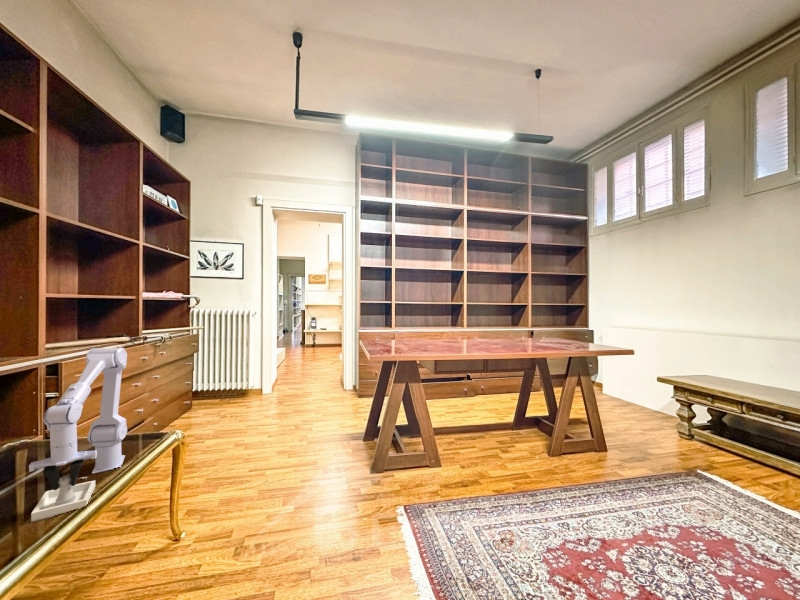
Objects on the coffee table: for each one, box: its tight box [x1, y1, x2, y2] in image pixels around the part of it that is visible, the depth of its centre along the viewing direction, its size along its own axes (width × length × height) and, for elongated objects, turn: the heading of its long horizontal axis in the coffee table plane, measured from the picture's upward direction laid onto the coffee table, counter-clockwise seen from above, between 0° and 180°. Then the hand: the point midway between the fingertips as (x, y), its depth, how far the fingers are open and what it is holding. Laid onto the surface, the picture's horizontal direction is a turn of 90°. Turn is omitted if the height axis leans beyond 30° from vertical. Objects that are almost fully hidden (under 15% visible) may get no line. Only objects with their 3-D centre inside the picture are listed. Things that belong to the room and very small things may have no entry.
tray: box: [30, 479, 97, 523], centre depth 101 cm, size 12×12×2 cm
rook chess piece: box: [56, 474, 76, 506], centre depth 101 cm, size 4×4×8 cm
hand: (65, 486), depth 101 cm, fingers closed on rook chess piece, 3 cm apart
